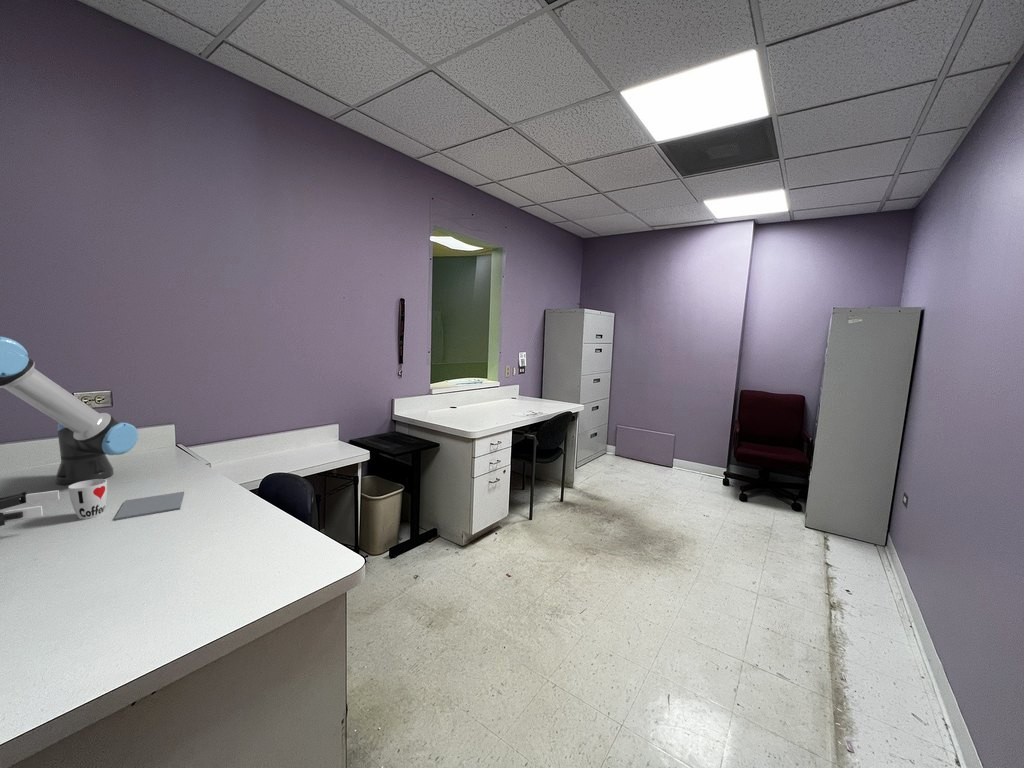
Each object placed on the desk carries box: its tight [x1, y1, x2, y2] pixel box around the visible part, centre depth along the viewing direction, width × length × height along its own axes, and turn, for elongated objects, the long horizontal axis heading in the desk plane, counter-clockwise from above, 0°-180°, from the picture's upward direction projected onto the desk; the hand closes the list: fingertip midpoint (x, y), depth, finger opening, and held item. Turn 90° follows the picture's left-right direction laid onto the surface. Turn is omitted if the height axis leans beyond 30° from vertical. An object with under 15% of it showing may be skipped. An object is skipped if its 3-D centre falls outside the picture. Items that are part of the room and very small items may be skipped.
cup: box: [67, 478, 108, 520], centre depth 123 cm, size 8×8×10 cm
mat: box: [114, 491, 185, 521], centre depth 132 cm, size 16×15×1 cm
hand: (50, 502), depth 119 cm, fingers open, 13 cm apart
